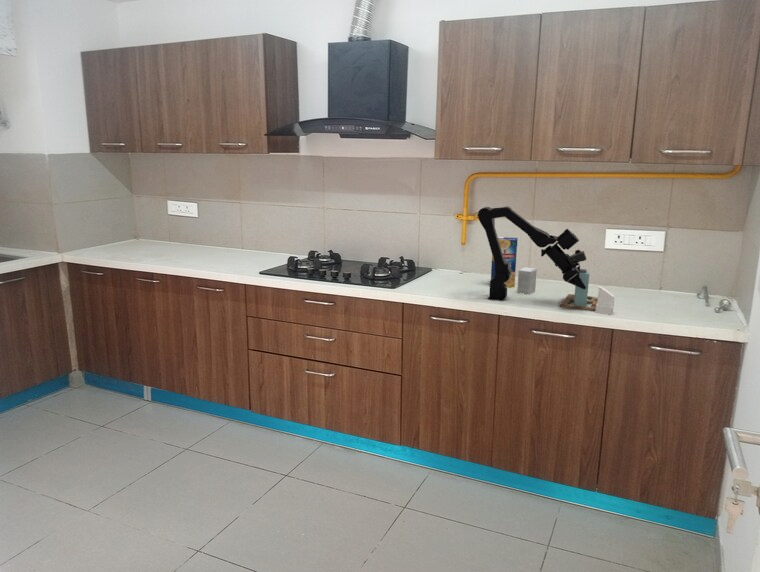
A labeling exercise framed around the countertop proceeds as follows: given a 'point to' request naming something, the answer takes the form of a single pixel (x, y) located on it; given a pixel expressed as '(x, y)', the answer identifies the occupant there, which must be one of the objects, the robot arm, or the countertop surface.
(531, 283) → the small box
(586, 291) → the teal tall rectangular block
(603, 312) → the white wedge bracket
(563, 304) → the socket board
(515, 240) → the beverage box
